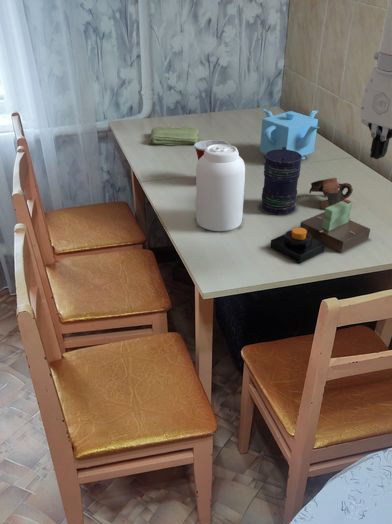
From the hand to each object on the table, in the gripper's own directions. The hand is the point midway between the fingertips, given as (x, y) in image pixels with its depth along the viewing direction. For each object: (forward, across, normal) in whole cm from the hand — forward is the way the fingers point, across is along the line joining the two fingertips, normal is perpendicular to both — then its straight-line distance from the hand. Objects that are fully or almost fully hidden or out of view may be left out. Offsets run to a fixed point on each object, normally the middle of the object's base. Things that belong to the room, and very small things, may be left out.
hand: (377, 156), depth 117 cm
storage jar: (+25, -32, +6) cm, 41 cm away
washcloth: (+25, -96, +18) cm, 101 cm away
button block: (+25, -12, -8) cm, 29 cm away
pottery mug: (+25, -25, +20) cm, 41 cm away
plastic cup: (+25, -58, +3) cm, 63 cm away
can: (+25, -36, -13) cm, 46 cm away
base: (+25, -11, +5) cm, 28 cm away
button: (+22, -12, -8) cm, 26 cm away
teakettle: (+25, -58, +38) cm, 74 cm away
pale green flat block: (+22, -11, +5) cm, 25 cm away
